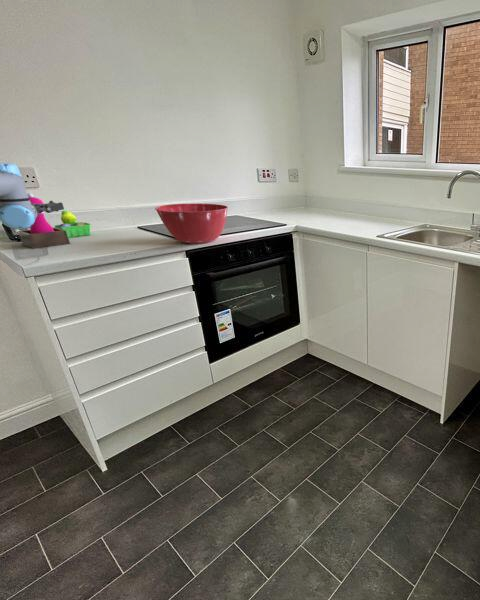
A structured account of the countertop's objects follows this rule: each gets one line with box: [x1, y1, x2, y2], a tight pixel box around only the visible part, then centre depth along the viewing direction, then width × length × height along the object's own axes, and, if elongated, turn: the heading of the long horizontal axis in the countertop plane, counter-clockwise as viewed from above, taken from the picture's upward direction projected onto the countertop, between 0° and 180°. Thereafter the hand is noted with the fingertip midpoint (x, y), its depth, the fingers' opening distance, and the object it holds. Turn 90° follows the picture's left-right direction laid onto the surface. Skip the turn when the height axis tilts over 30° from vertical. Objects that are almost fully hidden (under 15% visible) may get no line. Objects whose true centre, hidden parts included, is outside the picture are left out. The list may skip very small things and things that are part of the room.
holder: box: [17, 226, 71, 249], centre depth 146 cm, size 12×12×6 cm
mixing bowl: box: [154, 203, 229, 245], centre depth 159 cm, size 28×28×15 cm
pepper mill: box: [27, 192, 54, 234], centre depth 143 cm, size 7×7×20 cm
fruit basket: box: [54, 210, 92, 238], centre depth 162 cm, size 11×9×11 cm
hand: (27, 204), depth 133 cm, fingers open, 13 cm apart
